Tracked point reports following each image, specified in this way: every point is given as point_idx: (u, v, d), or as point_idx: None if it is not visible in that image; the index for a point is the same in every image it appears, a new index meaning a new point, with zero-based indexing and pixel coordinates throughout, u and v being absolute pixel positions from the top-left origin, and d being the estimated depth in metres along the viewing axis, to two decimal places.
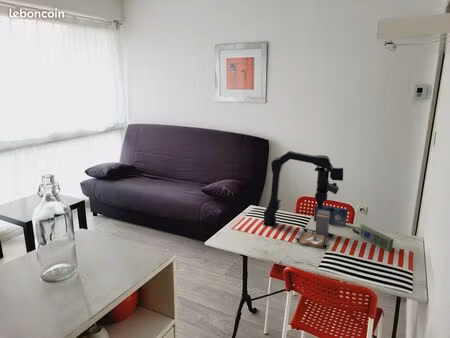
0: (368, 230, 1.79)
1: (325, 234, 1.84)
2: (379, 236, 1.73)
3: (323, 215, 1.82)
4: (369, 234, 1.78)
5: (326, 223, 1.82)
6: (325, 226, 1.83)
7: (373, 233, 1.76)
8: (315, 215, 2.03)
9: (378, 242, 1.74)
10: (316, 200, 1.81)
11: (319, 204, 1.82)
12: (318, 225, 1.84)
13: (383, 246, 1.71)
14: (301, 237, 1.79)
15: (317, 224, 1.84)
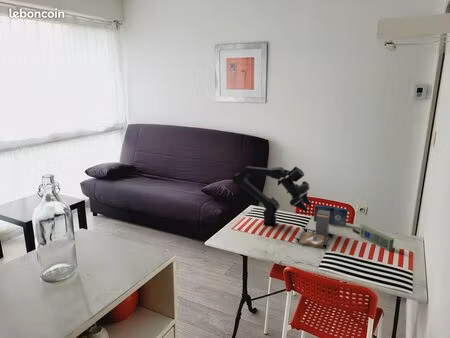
0: (368, 230, 1.79)
1: (325, 234, 1.84)
2: (379, 236, 1.73)
3: (323, 215, 1.82)
4: (369, 234, 1.78)
5: (326, 223, 1.82)
6: (325, 226, 1.83)
7: (373, 233, 1.76)
8: (315, 215, 2.03)
9: (378, 242, 1.74)
10: (296, 206, 1.84)
11: (302, 208, 1.83)
12: (318, 225, 1.84)
13: (383, 246, 1.71)
14: (301, 237, 1.79)
15: (317, 224, 1.84)
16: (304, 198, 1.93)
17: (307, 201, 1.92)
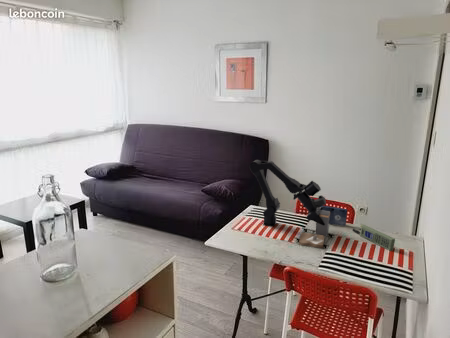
0: (369, 230, 1.79)
1: (325, 234, 1.84)
2: (380, 236, 1.73)
3: (323, 214, 1.82)
4: (370, 234, 1.78)
5: (326, 223, 1.82)
6: (325, 226, 1.83)
7: (374, 233, 1.76)
8: None
9: (379, 242, 1.74)
10: (313, 220, 1.82)
11: (319, 222, 1.82)
12: (318, 225, 1.84)
13: (384, 246, 1.71)
14: (301, 237, 1.79)
15: (317, 224, 1.84)
16: None
17: None
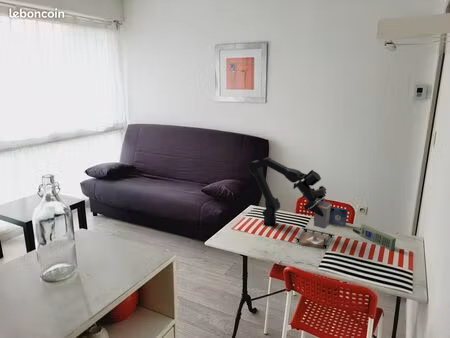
0: (369, 230, 1.79)
1: (323, 226, 1.78)
2: (381, 235, 1.73)
3: (322, 205, 1.76)
4: (370, 234, 1.78)
5: (325, 214, 1.76)
6: (324, 217, 1.77)
7: (375, 233, 1.76)
8: None
9: (380, 242, 1.74)
10: None
11: (317, 212, 1.77)
12: (317, 216, 1.79)
13: (385, 245, 1.71)
14: (301, 237, 1.79)
15: (316, 215, 1.79)
16: None
17: None
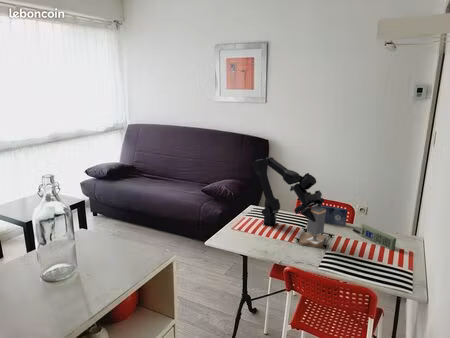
0: (370, 230, 1.79)
1: (315, 232, 1.71)
2: (381, 235, 1.73)
3: (314, 210, 1.70)
4: (371, 233, 1.79)
5: (316, 220, 1.69)
6: (315, 223, 1.70)
7: (375, 233, 1.76)
8: None
9: (380, 242, 1.74)
10: None
11: (309, 217, 1.71)
12: (310, 221, 1.73)
13: (386, 245, 1.72)
14: (301, 237, 1.79)
15: (309, 220, 1.73)
16: None
17: None
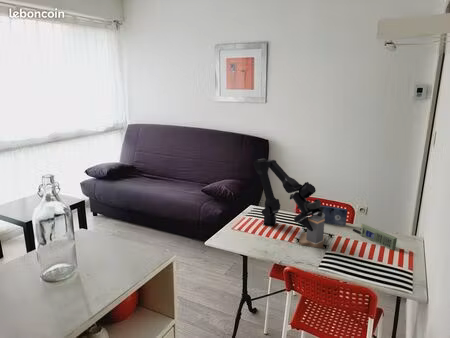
0: (370, 229, 1.79)
1: (314, 241, 1.72)
2: (382, 235, 1.74)
3: (313, 220, 1.71)
4: (371, 233, 1.79)
5: (315, 229, 1.71)
6: (315, 232, 1.71)
7: (376, 233, 1.76)
8: None
9: (381, 241, 1.75)
10: (301, 224, 1.73)
11: (307, 227, 1.71)
12: (309, 230, 1.74)
13: (386, 245, 1.72)
14: (301, 237, 1.79)
15: (308, 229, 1.75)
16: None
17: None
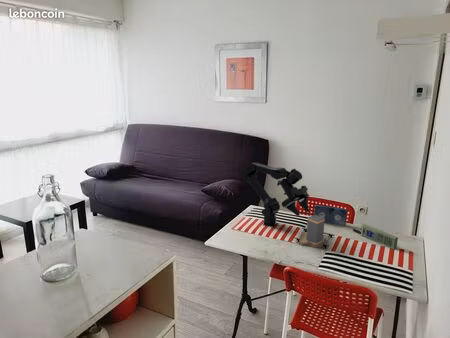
0: (371, 229, 1.80)
1: (314, 241, 1.72)
2: (383, 235, 1.74)
3: (313, 220, 1.71)
4: (372, 233, 1.79)
5: (315, 229, 1.71)
6: (315, 232, 1.71)
7: (376, 232, 1.77)
8: None
9: (382, 241, 1.75)
10: (288, 209, 1.78)
11: (294, 211, 1.77)
12: (309, 230, 1.74)
13: (387, 244, 1.72)
14: (301, 237, 1.79)
15: (308, 229, 1.75)
16: (303, 203, 1.85)
17: (305, 207, 1.84)
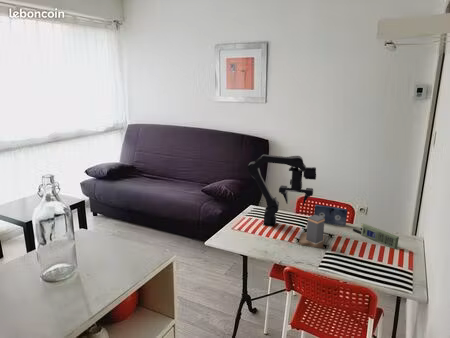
0: (371, 229, 1.80)
1: (314, 241, 1.72)
2: (384, 234, 1.75)
3: (313, 220, 1.71)
4: (372, 233, 1.79)
5: (315, 229, 1.71)
6: (315, 232, 1.71)
7: (377, 232, 1.77)
8: None
9: (382, 241, 1.76)
10: None
11: None
12: (309, 230, 1.74)
13: (388, 244, 1.73)
14: (301, 237, 1.79)
15: (308, 229, 1.75)
16: (287, 195, 1.95)
17: (287, 199, 1.95)
